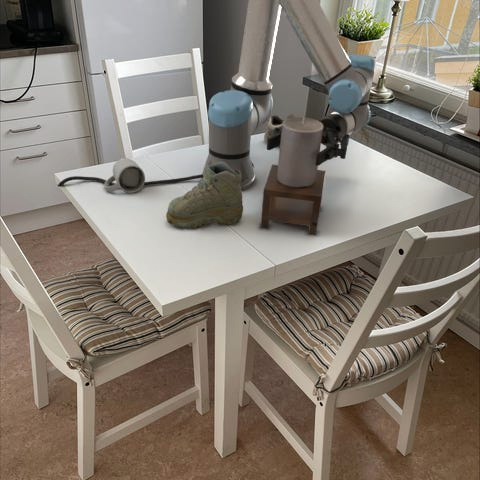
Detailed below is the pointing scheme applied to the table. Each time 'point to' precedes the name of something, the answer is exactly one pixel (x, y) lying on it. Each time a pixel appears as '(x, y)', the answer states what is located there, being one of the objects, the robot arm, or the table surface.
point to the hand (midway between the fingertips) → (292, 152)
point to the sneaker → (209, 199)
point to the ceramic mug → (126, 176)
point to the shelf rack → (292, 202)
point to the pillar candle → (299, 151)
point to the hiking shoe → (273, 126)
